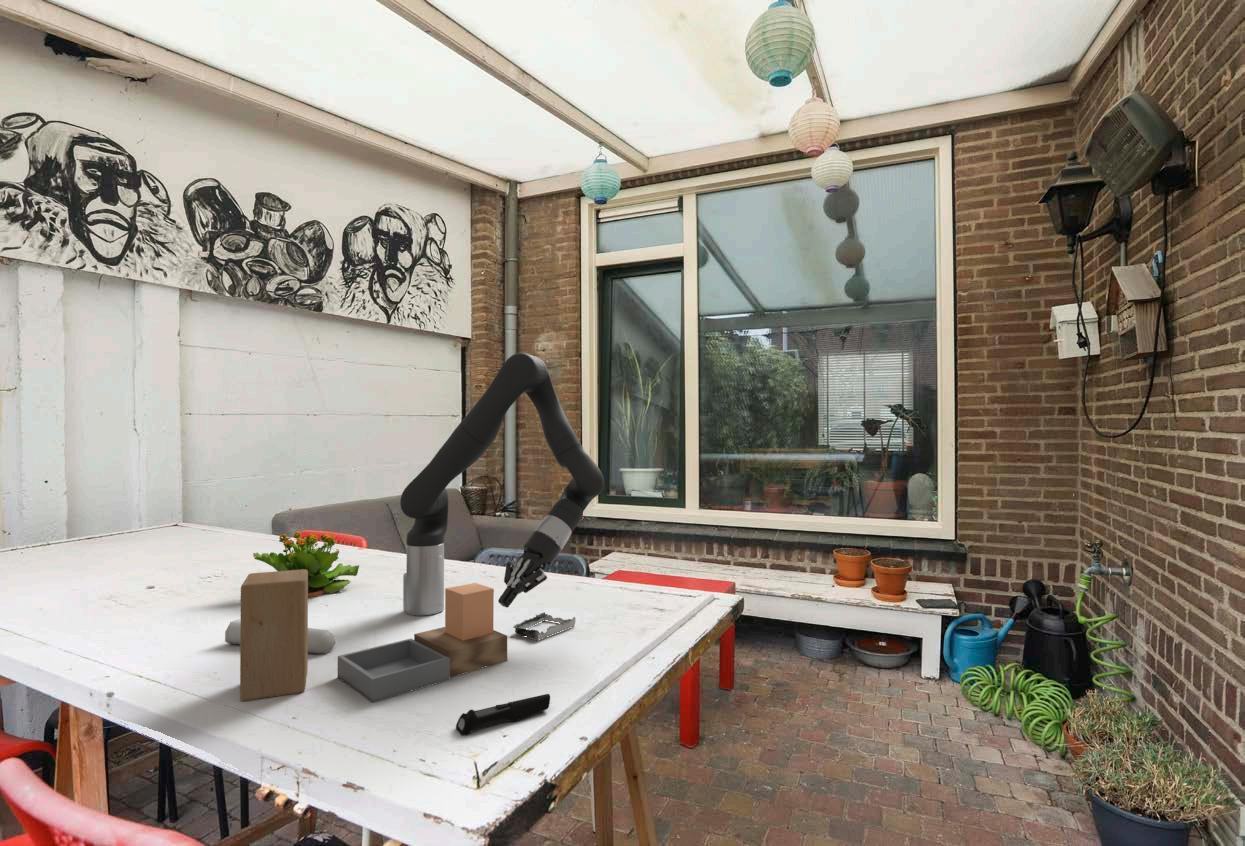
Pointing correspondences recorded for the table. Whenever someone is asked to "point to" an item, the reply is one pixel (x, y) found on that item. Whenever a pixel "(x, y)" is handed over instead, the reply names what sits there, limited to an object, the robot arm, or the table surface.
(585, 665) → the table surface
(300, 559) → the potted flower
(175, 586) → the table surface
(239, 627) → the tube
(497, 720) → the electric trimmer
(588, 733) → the table surface
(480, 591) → the terracotta block
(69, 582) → the table surface
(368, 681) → the box
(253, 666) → the wooden block
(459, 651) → the square wooden plinth
